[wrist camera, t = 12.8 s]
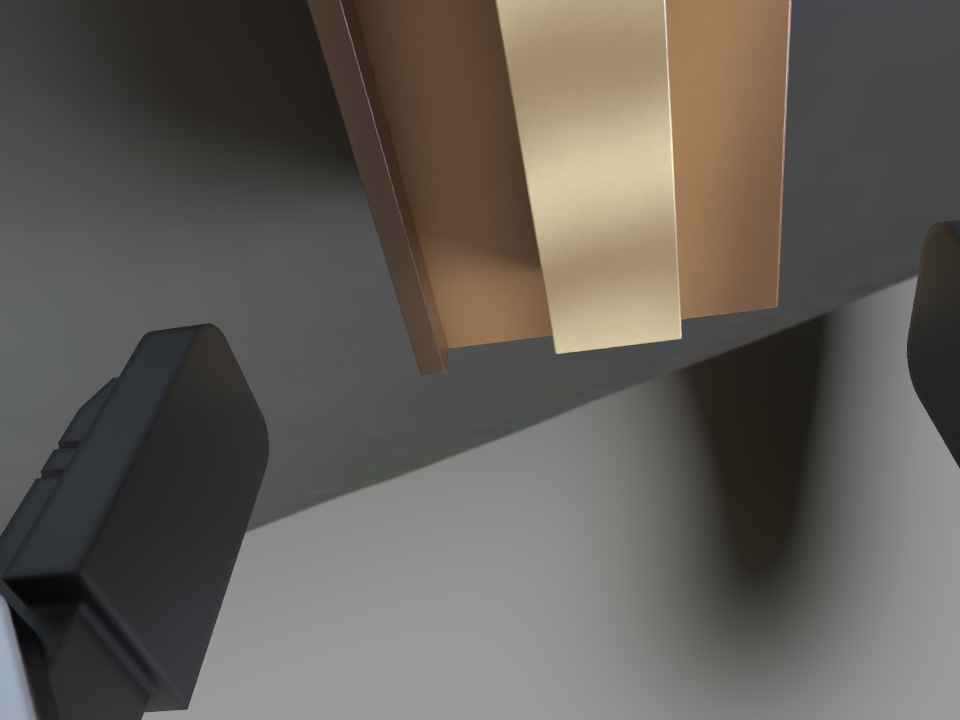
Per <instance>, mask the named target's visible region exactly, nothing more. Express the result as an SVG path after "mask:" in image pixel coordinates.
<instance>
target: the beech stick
mask: <svg viewBox="0 0 960 720" xmlns="http://www.w3.org/2000/svg"><path fill="white" fill-rule="evenodd" d="M495 3H496V9H497V15H498V21H499V27H500V33H501V38H502V44H503V50H504V56H505V62H506V68H507V74H508V79H509V85H510V91H511V97H512V103H513V109H514V114H515V120H516V126H517V132H518V138H519V144H520V150H521V155H522V161H523V167H524V173H525V179H526V185H527V190H528V196H529V202H530V208H531V214H532V220H533V226H534V231H535V237H536V243H537V249H538V255H539V261H540V266H541V272H542V278H543V284H544V290H545V296H546V302H547V307H548V313H549V319H550V325H551V331H552V337H553V343H554V348H555V353H556V354H560V353H568V352H577V351H585V350H593V349H601V348H609V347H617V346H626V345H634V344H642V343H650V342H658V341H667V340H675V339H681V337H682V331H681V310H680V289H679V268H678V247H677V225H676V204H675V183H674V162H673V141H672V119H671V98H670V77H669V56H668V35H667V14H666V0H495Z"/></svg>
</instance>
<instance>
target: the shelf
mask: <svg viewBox="0 0 960 720" xmlns="http://www.w3.org/2000/svg"><path fill="white" fill-rule="evenodd" d="M306 1H307V4H308V8H309V11H310V14H311V18H312V21H313V24H314V27H315V31H316V34H317V37H318V40H319V44H320V47H321V50H322V53H323V57H324V60H325V63H326V67H327V70H328V73H329V76H330V80H331V83H332V86H333V89H334V93H335V96H336V99H337V102H338V106H339V109H340V112H341V116H342V119H343V122H344V125H345V129H346V132H347V135H348V138H349V142H350V145H351V148H352V151H353V155H354V158H355V161H356V165H357V168H358V171H359V174H360V178H361V181H362V184H363V187H364V191H365V194H366V197H367V200H368V204H369V207H370V210H371V214H372V217H373V220H374V223H375V227H376V230H377V233H378V236H379V240H380V243H381V246H382V249H383V253H384V256H385V259H386V263H387V266H388V269H389V272H390V276H391V279H392V282H393V285H394V289H395V292H396V295H397V298H398V302H399V305H400V308H401V311H402V315H403V318H404V321H405V325H406V328H407V331H408V334H409V338H410V341H411V344H412V347H413V351H414V354H415V357H416V360H417V364H418V367H419V370H420V374H421V375H422V376H424V375H432V374H441V373H445V372H446V365H447V357H448V348H455V347H463V346H471V345H479V344H487V343H495V342H503V341H511V340H519V339H527V338H535V337H543V336H551V335H552V331H551V325H550V319H549V313H548V307H547V302H546V296H545V290H544V284H543V278H542V272H541V266H540V261H539V255H538V249H537V243H536V237H535V231H534V226H533V220H532V214H531V208H530V202H529V196H528V190H527V185H526V179H525V173H524V167H523V161H522V155H521V150H520V144H519V138H518V132H517V126H516V120H515V114H514V109H513V103H512V97H511V91H510V85H509V79H508V74H507V68H506V62H505V56H504V50H503V44H502V38H501V33H500V27H499V21H498V15H497V9H496V3H495V0H306ZM791 10H792V0H666V14H667V35H668V56H669V77H670V98H671V119H672V141H673V162H674V183H675V204H676V225H677V247H678V268H679V289H680V310H681V319H688V318H696V317H704V316H712V315H720V314H728V313H736V312H744V311H752V310H760V309H768V308H776V307H777V306H778V294H779V272H780V250H781V229H782V207H783V185H784V163H785V141H786V119H787V98H788V76H789V54H790V32H791Z"/></svg>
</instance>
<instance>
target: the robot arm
mask: <svg viewBox="0 0 960 720" xmlns="http://www.w3.org/2000/svg"><path fill="white" fill-rule="evenodd" d="M907 358H908V367H909V372H910V376H911V380H912V383H913V386H914V389H915V391H916V393H917V395H918V397H919V399H920V401H921V403H922V404H923V406H924V408H925V409H926V411H927V413H928V415H929V416H930V418H931V420H932V421H933V423H934V425H935V426H936V428H937V430H938V432H939V433H940V435H941V437H942V439H943V440H944V442H945V444H946V445H947V447H948V449H949V451H950V452H951V454H952V456H953V458H954V459H955V461H956V463H957V465H958V466H959V468H960V220H955V221H948V222H941V223H936V224H934V225H933V226H932V227H931V228H930V229H929V231H928V233H927V235H926V238H925V241H924V246H923V251H922V257H921V263H920V269H919V275H918V280H917V287H916V292H915V298H914V304H913V310H912V316H911V322H910V328H909V334H908V340H907ZM58 444H59V450H54V451H53V452H52V454H51V455H50V457H49V459H48V460H47V462H46V464H45V465H44V467H43V468H42V470H41V474H42V477H41V478H39V479H36V480H35V481H34V483H33V485H32V486H31V488H30V489H29V491H28V493H27V494H26V496H25V497H24V499H23V501H22V502H21V504H20V506H19V507H18V509H17V510H16V512H15V514H14V515H13V517H12V519H11V520H10V522H9V523H8V525H7V527H6V528H5V530H4V531H3V533H2V535H1V536H0V720H141V719H142V716H143V713H144V712H155V711H171V710H185V709H188V706H189V703H190V700H191V697H192V693H193V691H194V687H195V684H196V681H197V678H198V675H199V672H200V669H201V666H202V663H203V660H204V657H205V654H206V651H207V647H208V645H209V642H210V639H211V635H212V632H213V629H214V626H215V623H216V620H217V617H218V614H219V611H220V608H221V605H222V601H223V598H224V596H225V593H226V590H227V586H228V583H229V580H230V577H231V574H232V571H233V568H234V565H235V562H236V559H237V556H238V553H239V550H240V547H241V543H242V540H243V537H244V534H245V531H246V528H247V525H248V522H249V519H250V516H251V513H252V510H253V507H254V504H255V501H256V498H257V494H258V491H259V488H260V485H261V482H262V479H263V476H264V473H265V470H266V466H267V462H268V455H269V441H268V433H267V428H266V424H265V420H264V417H263V415H262V413H261V411H260V409H259V407H258V404H257V402H256V400H255V398H254V396H253V394H252V392H251V390H250V388H249V386H248V384H247V382H246V379H245V377H244V375H243V373H242V371H241V369H240V367H239V365H238V363H237V361H236V359H235V357H234V355H233V352H232V350H231V348H230V346H229V344H228V342H227V340H226V338H225V336H224V335H223V333H222V332H221V330H220V329H219V328H218V327H216V326H215V325H213V324H210V323H209V324H200V325H193V326H186V327H179V328H172V329H165V330H157V331H151V332H148V333H147V334H145V335H144V336H143V338H142V339H141V340H140V342H139V344H138V346H137V347H136V349H135V351H134V352H133V354H132V356H131V357H130V359H129V361H128V362H127V364H126V366H125V368H124V369H123V371H122V373H121V374H120V376H119V377H117V378H112V379H111V380H110V381H109V382H108V383H107V384H106V385H105V386H104V387H103V388H102V389H101V390H99V391H98V392H97V393H96V394H95V395H94V396H93V397H92V398H91V399H90V400H89V401H88V402H86V403H85V404H84V405H83V406H82V407H81V408H80V409H79V410H78V412H77V413H76V415H75V417H74V418H73V420H72V421H71V423H70V425H69V426H68V428H67V430H66V431H65V433H64V434H63V436H62V438H61V439H60V441H59V443H58Z"/></svg>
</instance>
